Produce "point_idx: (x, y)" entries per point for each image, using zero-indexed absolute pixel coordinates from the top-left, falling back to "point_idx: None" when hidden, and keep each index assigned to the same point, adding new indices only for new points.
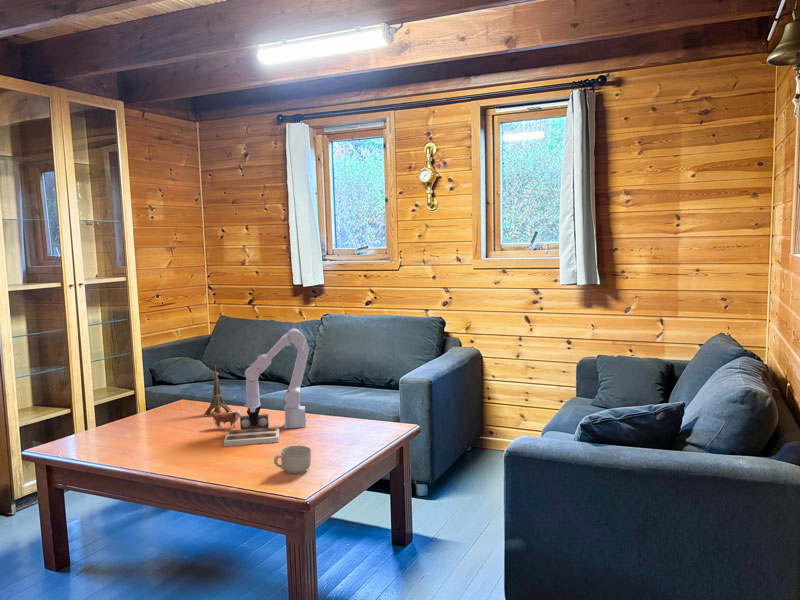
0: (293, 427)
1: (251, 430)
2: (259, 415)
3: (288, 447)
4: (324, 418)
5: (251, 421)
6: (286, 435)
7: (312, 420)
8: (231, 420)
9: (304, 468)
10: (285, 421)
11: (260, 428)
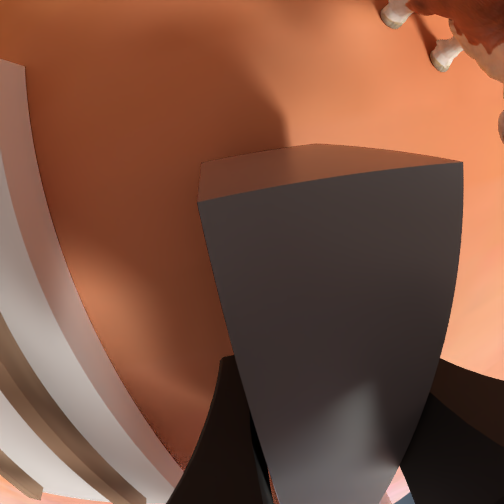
0: (278, 499)
1: (8, 391)
2: (340, 500)
3: None
4: (396, 493)
5: (216, 412)
6: None
7: (391, 484)
8: None
9: None
10: None
11: (73, 458)
